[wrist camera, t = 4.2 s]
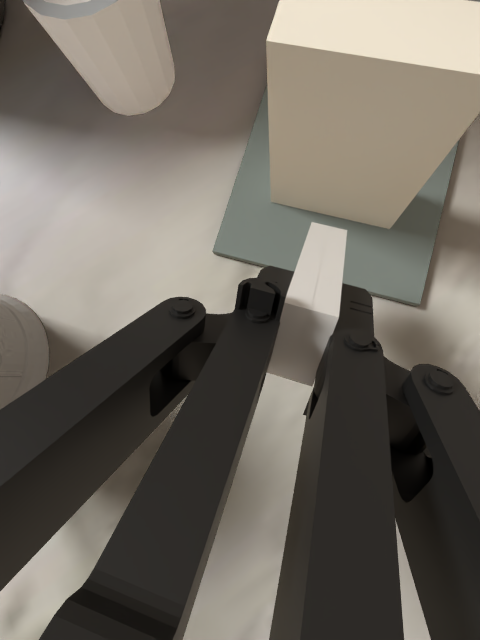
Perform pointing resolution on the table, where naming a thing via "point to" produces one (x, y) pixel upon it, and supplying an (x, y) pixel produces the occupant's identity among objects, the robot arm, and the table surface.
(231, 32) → the table surface
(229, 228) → the mat
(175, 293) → the table surface
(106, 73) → the white cup
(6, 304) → the tall grey mug
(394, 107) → the cream rectangular block
